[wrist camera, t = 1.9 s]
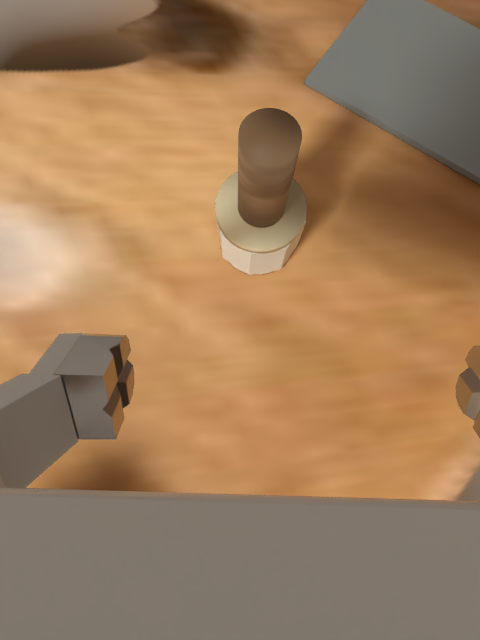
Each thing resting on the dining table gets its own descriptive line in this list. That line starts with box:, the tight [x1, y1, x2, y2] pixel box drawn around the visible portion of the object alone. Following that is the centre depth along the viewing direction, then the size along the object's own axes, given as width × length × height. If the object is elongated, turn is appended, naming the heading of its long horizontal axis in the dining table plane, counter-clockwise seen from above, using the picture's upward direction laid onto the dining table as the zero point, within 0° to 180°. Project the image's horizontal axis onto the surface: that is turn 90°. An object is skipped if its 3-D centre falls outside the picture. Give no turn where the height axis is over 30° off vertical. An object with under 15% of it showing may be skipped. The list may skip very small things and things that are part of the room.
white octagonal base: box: [215, 202, 306, 275], centre depth 30 cm, size 6×6×4 cm
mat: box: [304, 0, 480, 184], centre depth 35 cm, size 18×14×1 cm
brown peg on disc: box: [215, 108, 307, 254], centre depth 24 cm, size 6×6×8 cm
